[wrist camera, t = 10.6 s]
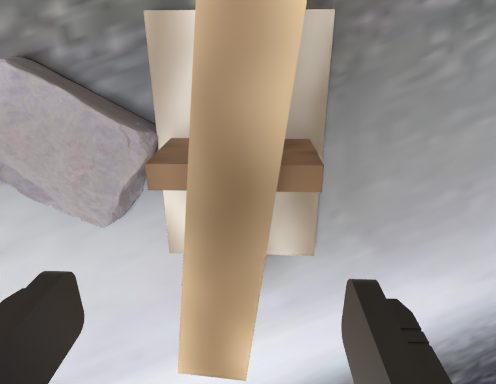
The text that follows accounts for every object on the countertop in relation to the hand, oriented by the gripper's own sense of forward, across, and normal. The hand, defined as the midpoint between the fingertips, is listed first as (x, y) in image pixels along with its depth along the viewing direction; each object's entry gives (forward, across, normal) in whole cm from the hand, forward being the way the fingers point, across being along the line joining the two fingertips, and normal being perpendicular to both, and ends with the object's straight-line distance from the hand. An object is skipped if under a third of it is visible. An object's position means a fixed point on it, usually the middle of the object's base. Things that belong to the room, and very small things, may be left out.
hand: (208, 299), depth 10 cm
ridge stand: (+18, 0, 0) cm, 18 cm away
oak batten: (+10, 0, 0) cm, 10 cm away
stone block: (+18, +13, 0) cm, 22 cm away
